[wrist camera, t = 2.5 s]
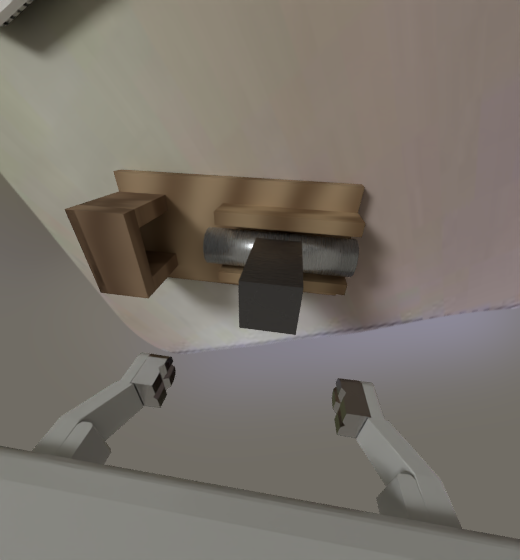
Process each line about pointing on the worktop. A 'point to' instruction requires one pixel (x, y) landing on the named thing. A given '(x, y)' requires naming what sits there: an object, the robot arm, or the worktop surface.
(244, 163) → the worktop surface
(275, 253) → the grey mallet
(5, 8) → the plate
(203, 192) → the cradle
